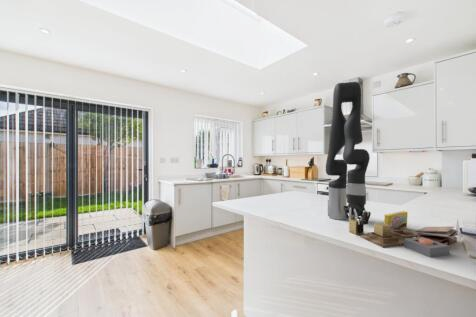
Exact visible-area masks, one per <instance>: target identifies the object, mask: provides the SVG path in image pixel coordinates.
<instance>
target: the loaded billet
mask: <svg viewBox="0 0 476 317" xmlns="http://www.w3.org/2000/svg"><path fill="white" fill-rule="evenodd" d="M373 232H374V235H376V236H379V237H381V238H388V237H391V225H388V224H385V223H384V222H374V223H373Z"/></svg>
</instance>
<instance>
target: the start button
mask: <svg viewBox="0 0 476 317" xmlns="http://www.w3.org/2000/svg"><path fill="white" fill-rule="evenodd" d="M426 238H427V237H424V238H419V243H422V244H425V245H428V246H429V245H433V241H434V240H433V239H430V238H427V239H426ZM432 240H433V241H432Z"/></svg>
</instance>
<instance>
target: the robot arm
mask: <svg viewBox="0 0 476 317" xmlns="http://www.w3.org/2000/svg"><path fill="white" fill-rule="evenodd" d="M332 98H333V99H332V115H331V116H332V117H331V126H330V130H329V131H330V132H329V133H330V134H329V144H328V145H329V146H328V153H327V157H326V163H325V172H326V174H327V176H334V177H335V176H338V178H337V179H335V180H331V181H330V182H329V183H328V199H327V217H329V218H330V219H333V220H338V221H339V220H341V221H342V220H349V219H357V222H358V233H363V225H368V224H369V221H370V217H371V215H372V214H371V211H367V210H366V207H365V206H366V204H367V187H366V172H367V169H368V166H369V163H370V154H369V153H370V152H368V150H367V149H363V148H355V147H356V145H360V144H362V142H363V133H362V132H363V130H362V125H361V124H362V123H361V122H362V121H361V116H362V115H361V114H362V112H361V111H362V89H361V84H360V83H359V82H358V81H348V82H346V81H345V82H338V83H336V84H335V86H334V89H333V94H332ZM343 103H351V111H350V113H349V114H348V117H347V118H346V117H345V115H344V112H343V109H342V104H343ZM343 147H344V148H343ZM342 149H343V151H342V152H343V153H342V159H336V156H337V154H338V153H339V152H340V150H342ZM348 165H351V166H352V165H353V166H354V165H355V167H354V169H353V168H352V169H350V170H348ZM360 220H361V222H360Z"/></svg>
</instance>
